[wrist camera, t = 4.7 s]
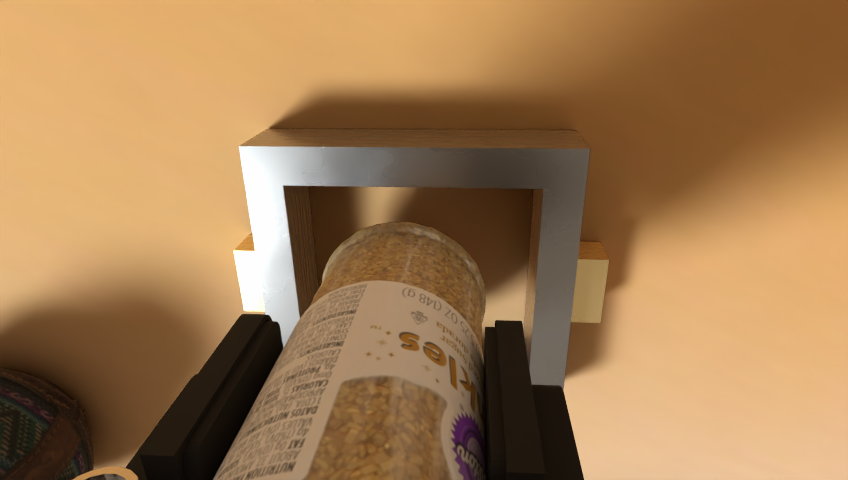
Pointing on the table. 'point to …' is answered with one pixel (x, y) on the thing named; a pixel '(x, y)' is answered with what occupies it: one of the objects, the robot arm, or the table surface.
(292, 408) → the sprinkles bottle
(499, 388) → the robot arm
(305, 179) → the grey picture frame
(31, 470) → the mate gourd
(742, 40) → the table surface
